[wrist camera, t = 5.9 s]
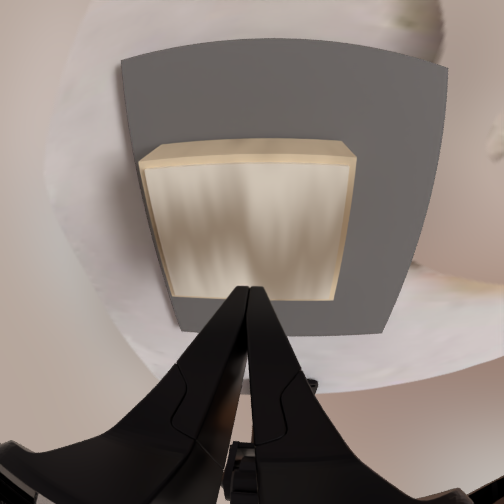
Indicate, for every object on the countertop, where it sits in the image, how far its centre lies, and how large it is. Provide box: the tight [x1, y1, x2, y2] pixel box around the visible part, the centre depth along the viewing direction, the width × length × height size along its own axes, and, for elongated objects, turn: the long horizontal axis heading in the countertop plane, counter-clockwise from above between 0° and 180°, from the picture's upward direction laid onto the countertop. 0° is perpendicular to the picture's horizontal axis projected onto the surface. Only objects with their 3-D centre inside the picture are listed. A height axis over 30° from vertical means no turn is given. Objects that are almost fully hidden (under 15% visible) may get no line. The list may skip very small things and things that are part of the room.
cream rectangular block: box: [138, 138, 357, 301], centre depth 12 cm, size 7×3×8 cm
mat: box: [121, 38, 448, 336], centre depth 14 cm, size 18×15×1 cm
